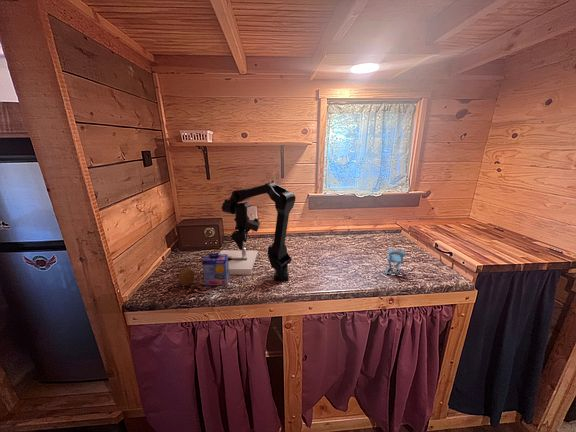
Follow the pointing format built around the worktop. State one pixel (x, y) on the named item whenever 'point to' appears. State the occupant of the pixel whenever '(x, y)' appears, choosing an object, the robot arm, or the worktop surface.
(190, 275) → the fruit
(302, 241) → the worktop surface
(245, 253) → the steel peg
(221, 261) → the ink cartridge box
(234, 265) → the keyhole board
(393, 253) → the chair
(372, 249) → the worktop surface
